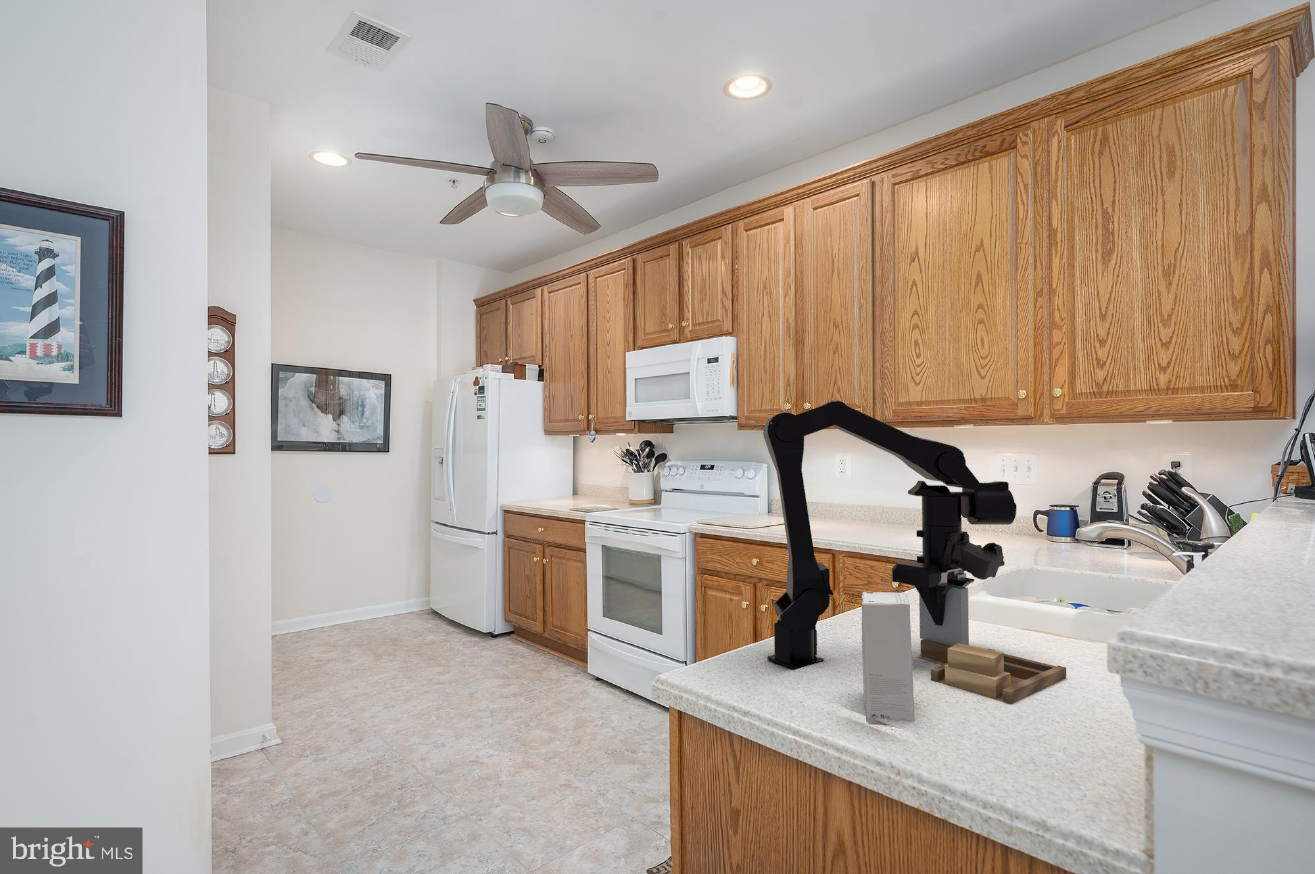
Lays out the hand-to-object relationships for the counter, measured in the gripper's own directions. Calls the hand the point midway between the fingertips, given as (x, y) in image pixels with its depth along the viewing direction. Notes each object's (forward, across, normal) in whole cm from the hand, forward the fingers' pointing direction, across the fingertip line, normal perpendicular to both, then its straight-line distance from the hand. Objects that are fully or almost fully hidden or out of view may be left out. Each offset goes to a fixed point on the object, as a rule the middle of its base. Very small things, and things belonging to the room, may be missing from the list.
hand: (942, 624), depth 102 cm
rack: (+6, -3, -10) cm, 12 cm away
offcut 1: (+3, -9, -10) cm, 13 cm away
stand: (+6, 0, 0) cm, 6 cm away
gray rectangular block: (+3, 0, 0) cm, 3 cm away
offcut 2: (+5, -9, -10) cm, 14 cm away
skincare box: (+6, -24, -6) cm, 26 cm away
